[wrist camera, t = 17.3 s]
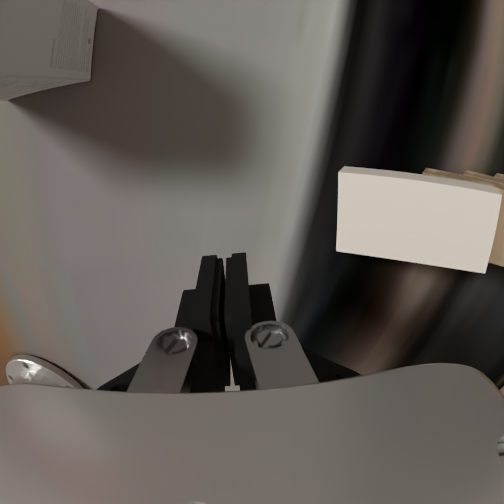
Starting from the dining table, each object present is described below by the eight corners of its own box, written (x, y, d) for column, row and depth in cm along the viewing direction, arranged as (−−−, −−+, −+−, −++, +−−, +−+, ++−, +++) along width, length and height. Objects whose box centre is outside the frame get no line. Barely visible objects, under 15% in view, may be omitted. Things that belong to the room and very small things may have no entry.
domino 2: (426, 168, 18) (550, 198, 12) (419, 233, 21) (534, 264, 15) (422, 172, 17) (557, 205, 11) (414, 243, 19) (538, 277, 13)
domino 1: (344, 166, 18) (493, 186, 14) (342, 238, 21) (479, 259, 16) (338, 172, 17) (502, 194, 13) (336, 251, 19) (485, 273, 15)
